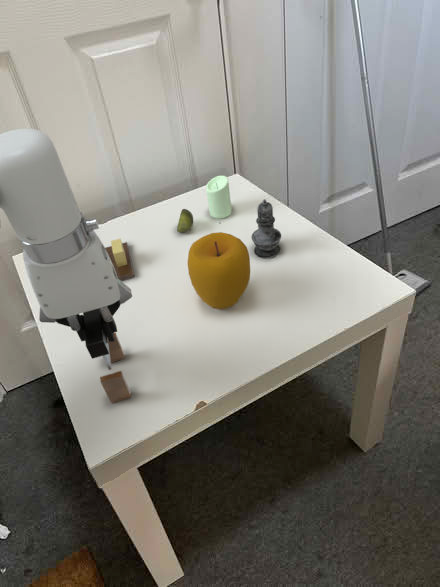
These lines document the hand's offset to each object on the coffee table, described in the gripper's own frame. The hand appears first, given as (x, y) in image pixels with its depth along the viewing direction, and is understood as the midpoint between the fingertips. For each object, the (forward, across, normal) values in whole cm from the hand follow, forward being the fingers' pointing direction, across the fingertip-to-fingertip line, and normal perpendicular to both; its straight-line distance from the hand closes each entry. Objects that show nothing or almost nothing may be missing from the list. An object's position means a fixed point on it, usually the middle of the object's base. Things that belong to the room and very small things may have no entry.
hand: (100, 337), depth 67 cm
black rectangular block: (+4, 0, 0) cm, 4 cm away
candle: (+10, -28, -38) cm, 48 cm away
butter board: (+10, +1, -29) cm, 31 cm away
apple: (+10, -21, -11) cm, 26 cm away
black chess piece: (+10, -33, -21) cm, 40 cm away
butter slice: (+9, -4, -29) cm, 31 cm away
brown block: (+10, 0, 0) cm, 10 cm away
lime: (+10, -19, -35) cm, 41 cm away
